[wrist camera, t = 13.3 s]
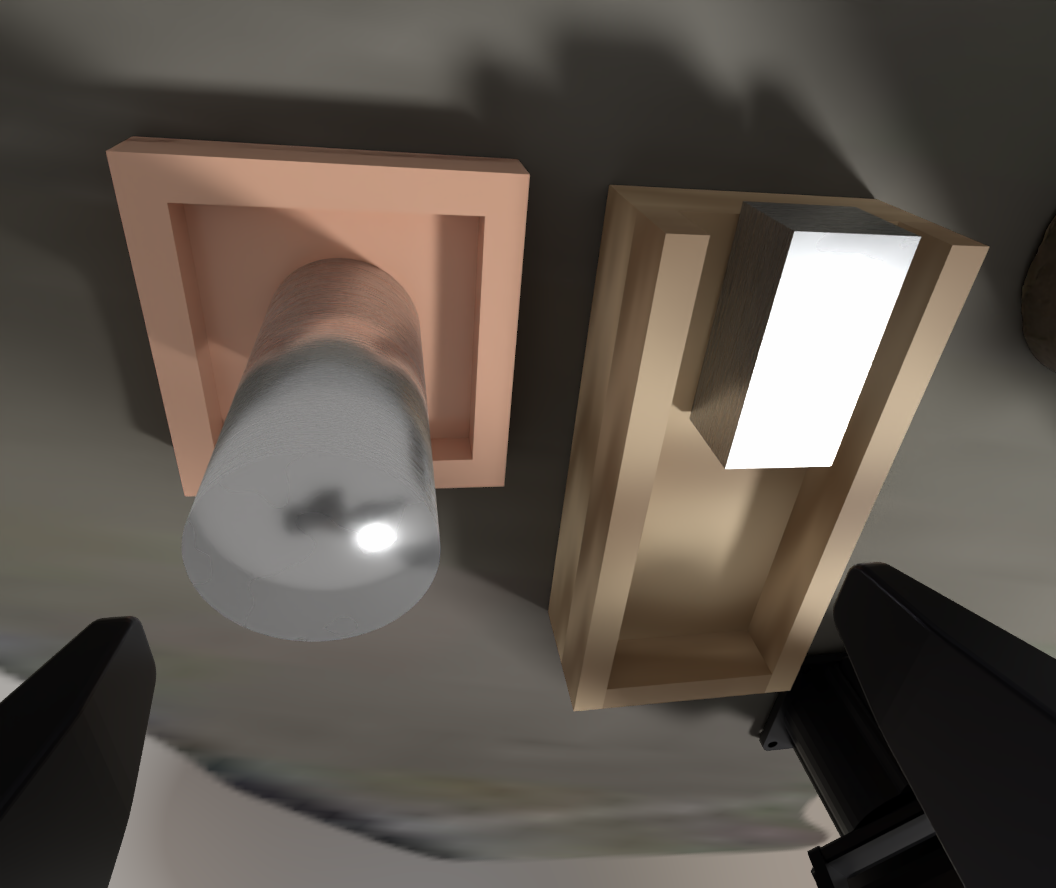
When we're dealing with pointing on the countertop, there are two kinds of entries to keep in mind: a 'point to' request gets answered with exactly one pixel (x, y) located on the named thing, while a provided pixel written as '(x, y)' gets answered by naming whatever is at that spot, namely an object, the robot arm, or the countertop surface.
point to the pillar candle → (1041, 301)
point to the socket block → (715, 465)
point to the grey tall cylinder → (322, 465)
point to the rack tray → (314, 234)
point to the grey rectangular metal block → (796, 331)
